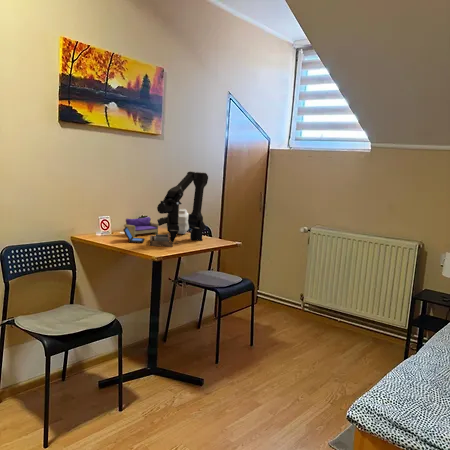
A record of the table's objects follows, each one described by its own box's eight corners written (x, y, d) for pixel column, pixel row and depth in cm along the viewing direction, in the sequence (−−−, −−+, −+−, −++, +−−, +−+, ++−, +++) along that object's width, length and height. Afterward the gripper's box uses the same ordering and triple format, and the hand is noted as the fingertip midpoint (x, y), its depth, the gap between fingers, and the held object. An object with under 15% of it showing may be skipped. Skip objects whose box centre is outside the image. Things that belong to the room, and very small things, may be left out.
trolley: (168, 241, 259) (168, 233, 258) (169, 245, 247) (169, 236, 246) (154, 241, 258) (154, 232, 257) (154, 245, 246) (154, 236, 245)
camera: (190, 232, 299) (192, 207, 297) (187, 236, 281) (188, 210, 279) (174, 230, 299) (175, 206, 297) (169, 235, 281) (170, 209, 279)
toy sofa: (133, 237, 265) (134, 220, 264) (123, 235, 270) (123, 218, 269) (158, 234, 282) (159, 218, 281) (148, 232, 287) (149, 216, 286)
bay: (171, 240, 262) (171, 236, 262) (172, 246, 244) (172, 242, 244) (150, 239, 260) (150, 235, 260) (149, 245, 243) (149, 241, 242)
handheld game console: (142, 244, 247) (143, 230, 246) (122, 243, 246) (123, 229, 245) (145, 240, 260) (145, 227, 259) (125, 239, 259) (126, 226, 258)
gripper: (158, 210, 259) (157, 237, 261) (158, 214, 240) (157, 243, 242) (178, 211, 260) (176, 238, 262) (179, 215, 242) (178, 244, 244)
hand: (171, 240), depth 253 cm, fingers open, 9 cm apart
